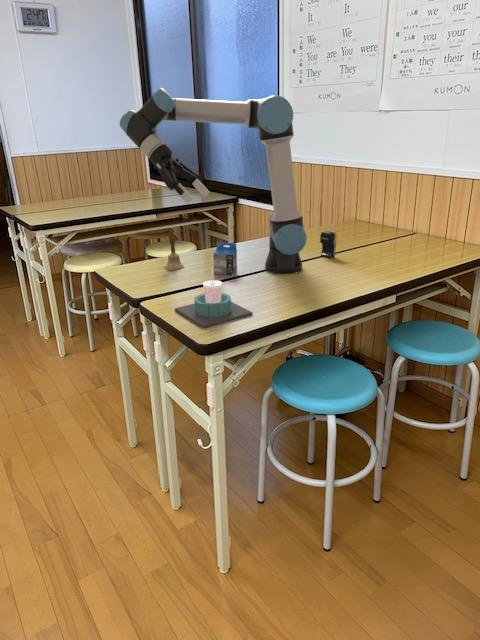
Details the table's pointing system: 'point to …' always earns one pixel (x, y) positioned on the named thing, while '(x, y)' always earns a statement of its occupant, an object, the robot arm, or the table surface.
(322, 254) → the battery charger
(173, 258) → the hand bell
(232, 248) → the label tape box
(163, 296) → the table surface
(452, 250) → the table surface
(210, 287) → the beverage cup
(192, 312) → the cup holder
